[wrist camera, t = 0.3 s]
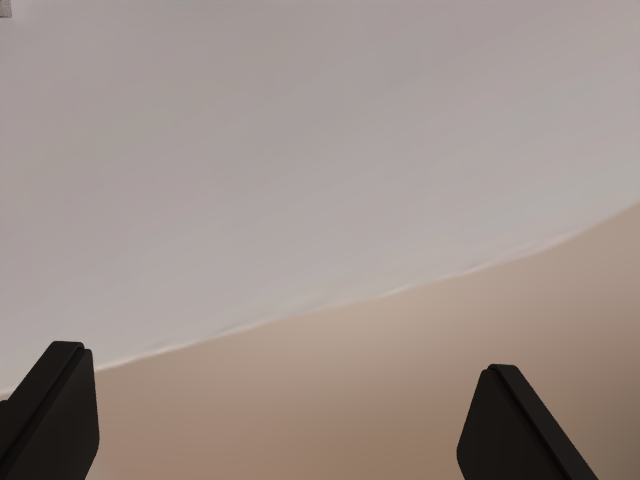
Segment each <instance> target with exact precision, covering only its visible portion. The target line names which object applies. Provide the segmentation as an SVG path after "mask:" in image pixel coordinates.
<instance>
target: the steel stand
mask: <svg viewBox="0 0 640 480" xmlns="http://www.w3.org/2000/svg"><path fill="white" fill-rule="evenodd" d="M0 16H6V17H12V12H11V4H10V0H0Z"/></svg>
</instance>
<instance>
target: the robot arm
mask: <svg viewBox="0 0 640 480" xmlns="http://www.w3.org/2000/svg"><path fill="white" fill-rule="evenodd" d="M98 445H99V426H98V414H97V402H96V391H95V380H94V368H93V357H92V351H91V350H90V349H85V348H84V345H83V343H81V342H68V341H54V342H52V343H51V344H50V346H49V347H48V348H47V349H46V351H45V352H44V353H43V355H42V356H41V357H40V359H39V360H38V361H37V362H36V364H35V365H34V366H33V368H32V369H31V370H30V371H29V373H28V374H27V375H26V377H25V378H24V379H23V381H22V382H21V383H20V384H19V386H18V387H17V388H16V390H15V391H14V392H13V394H12V395H11V396H10V397H9V399H8V400H2V401H1V402H0V480H85V478H86V475H87V473H88V471H89V469H90V467H91V465H92V462H93V460H94V458H95V456H96V453H97V450H98ZM457 461H458V464H459V467H460V469H461V472H462V474H463V476H464V479H465V480H598V478H597V477H596V475H595V474H594V473H593V471H592V470H591V469H590V467H589V466H588V465H587V463H586V462H585V460H584V459H583V458H582V456H581V455H580V453H579V452H578V451H577V449H576V448H575V447H574V445H573V444H572V442H571V441H570V440H569V438H568V437H567V435H566V434H565V433H564V431H563V430H562V428H561V427H560V426H559V424H558V423H557V421H556V420H555V419H554V418H553V416H552V415H551V413H550V412H549V411H548V409H547V408H546V406H545V405H544V404H543V402H542V401H541V400H540V398H539V397H538V395H537V394H536V393H535V391H534V390H533V388H532V387H531V386H530V384H529V383H528V382H527V380H526V379H525V377H524V376H523V374H522V373H521V372H520V370H519V369H518V368H517V367H516V366H514V365H504V364H491V365H490V366H488V368H487V369H485V370H483V371H482V372H481V374H480V378H479V381H478V384H477V387H476V390H475V393H474V396H473V399H472V402H471V406H470V409H469V412H468V415H467V418H466V422H465V424H464V428H463V431H462V434H461V437H460V440H459V443H458V446H457Z"/></svg>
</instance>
